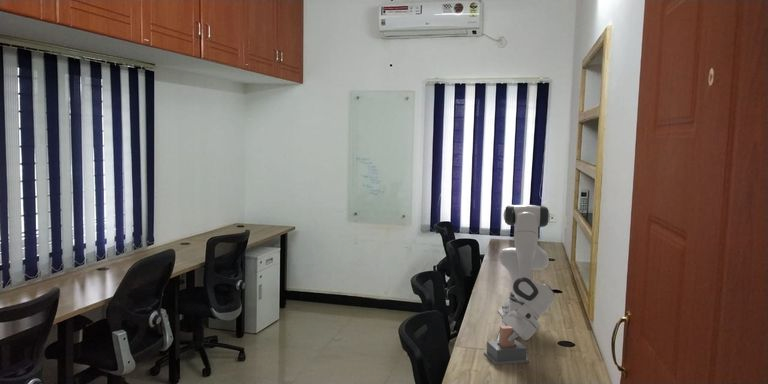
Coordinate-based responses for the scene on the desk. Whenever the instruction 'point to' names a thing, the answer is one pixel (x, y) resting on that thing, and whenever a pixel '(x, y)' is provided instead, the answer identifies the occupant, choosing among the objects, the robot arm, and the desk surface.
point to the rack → (506, 353)
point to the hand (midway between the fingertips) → (505, 338)
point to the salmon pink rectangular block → (503, 335)
